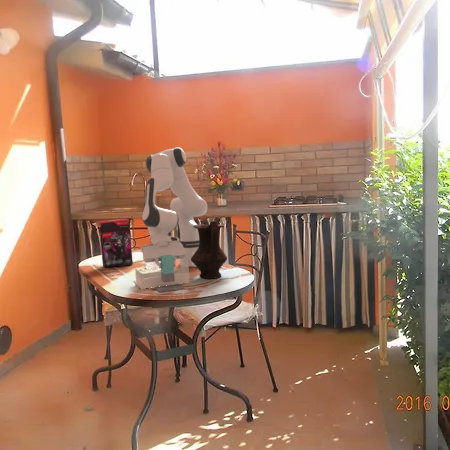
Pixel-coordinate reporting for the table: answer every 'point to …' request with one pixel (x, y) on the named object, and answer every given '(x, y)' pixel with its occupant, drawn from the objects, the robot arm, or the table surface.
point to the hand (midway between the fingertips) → (167, 266)
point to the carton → (155, 278)
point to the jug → (209, 251)
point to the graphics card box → (115, 243)
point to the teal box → (167, 268)
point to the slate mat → (169, 287)
